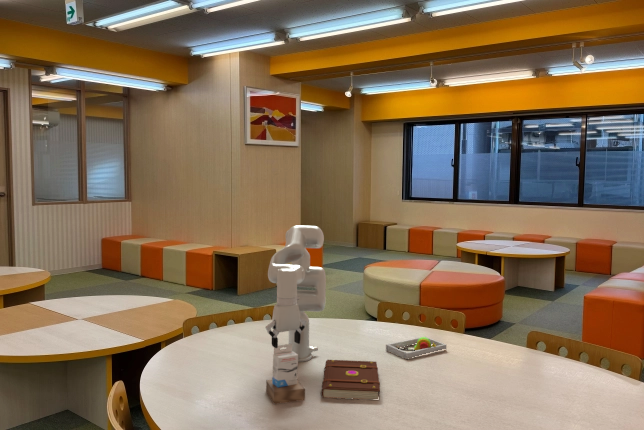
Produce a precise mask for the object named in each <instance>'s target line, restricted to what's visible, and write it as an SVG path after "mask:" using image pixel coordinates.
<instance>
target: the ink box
mask: <svg viewBox="0 0 644 430" xmlns="http://www.w3.org/2000/svg"><path fill="white" fill-rule="evenodd" d="M292 346H293V344H289V343H285V344H278V348H275V347H273V354H272V379H271V380H272V384H274V385H275V386H276V387H278V388H279V387H284V386H289V385H295V384H297V379H298V369H299V368H298V367H299V366H298V365H299V362H298V354H296V353H295V352H293V351H292ZM282 348H284V349H282Z"/></svg>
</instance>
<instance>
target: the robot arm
mask: <svg viewBox="0 0 644 430" xmlns="http://www.w3.org/2000/svg"><path fill="white" fill-rule="evenodd" d="M324 240H325V236H324V232H323V230H322V229H321V228H320V227H319V226H316V225H301V224H300V225H293V226H291V227H290V228H289V229H288V230H287V231H286V232H285V245H284V247H282V248H280V250H278V251H276V252H275V253H274V254H273V255H272V256H271V258H270V262H269V265H268V270H267V277H268V280H269V282H270V283H273V284H276V304H274V307H273V310H272V319H271V322H270V323H269V324H267V325H265V329H266V331H267V334H268V335H270V337H271V346H272V347H273V348H274V347H275V348H278V346H279V338H278V335H279V334H280V333H283V332H284V333H285V332H288V344H293V346H292V351H293V352H295V353H296V354H298V363H299V362H300V363H301V362H308V361H310V360H311V359H312V358H313V354H312V353H313V352H318V351H319V347H318V346H314V347H313V346H310V318H309V316H308V314H307V313H306V312H318V313H319V312H323V311H324V310H325V307H326V297H327V296H326V295H327V294H326V291H327V288H326V287H327V286H326V285H327V284H326V282H327V280H326V279H327V276H326V275H327V274H326V270H325V269H324V268H323V267H320V266H311V255H310V252H308V250H307V249H321V248H322V247H323V245H324V242H325V241H324ZM298 287H299V288H314V289H315V290H313V289H311V290H310V289H307V290H306V289H298Z"/></svg>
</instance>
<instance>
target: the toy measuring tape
mask: <svg viewBox="0 0 644 430" xmlns="http://www.w3.org/2000/svg"><path fill="white" fill-rule="evenodd" d="M420 337H421V338H420ZM420 337H418V338H419V339H418V341H417V344H416V345H413V347H409V348H410V349H409V350H411V349H414V350H420V349H425V348H429V347H436V345H435V343H433V345H432V346H431V342H430V340H429V339H428V338H429V337H428V338H426V337H427V336H420ZM396 348H399V346H396ZM404 348H405V347H403V348H399V349H400V350H405V349H404ZM414 350H413V351H414Z"/></svg>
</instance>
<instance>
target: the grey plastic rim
mask: <svg viewBox="0 0 644 430" xmlns="http://www.w3.org/2000/svg"><path fill="white" fill-rule="evenodd" d="M421 337H422V336H420V337H415V338H411V339H406V340H400V341H396V342H391V343H386V344H385V351H386V352H388V353H390V352H391V354H393V355H395V354H396V355H395V356H397V355H398V356H397V357H399V356H401V357H400V358H402V357H403V358H402V359H404V358H406V359H408V358H412V357H415V356H419V355H422V354H426V353H430V352H434V351H438V350H442V349H446V350H447V344H446V343H443V342H440V341H438V340H435V339H433V338H430V337H427V336H425V337H426V338H428V339H429V340H430V342H431V344H433V343H435V345H436V347H429V348H425V349H420V350H416V351H414V350H412V351H408V352H407V351H405V350H403V349H398V348H396V346H399V348H400V347H403V348H405V347H404V346H407V345H412V344H415V343H417V341H418V339H419V338H421ZM406 359H405V360H406ZM412 359H413V358H412ZM408 360H409V359H408Z"/></svg>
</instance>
